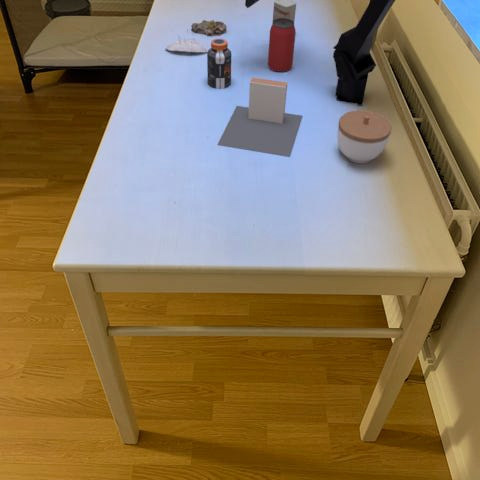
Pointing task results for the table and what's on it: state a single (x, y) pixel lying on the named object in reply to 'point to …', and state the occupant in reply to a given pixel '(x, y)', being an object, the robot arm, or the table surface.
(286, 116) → the mat
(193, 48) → the pincushion
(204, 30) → the mineral rock
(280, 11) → the skincare box
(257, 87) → the tile
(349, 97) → the robot arm
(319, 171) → the table surface
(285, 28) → the beer can
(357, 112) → the lidded jar
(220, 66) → the pill bottle
